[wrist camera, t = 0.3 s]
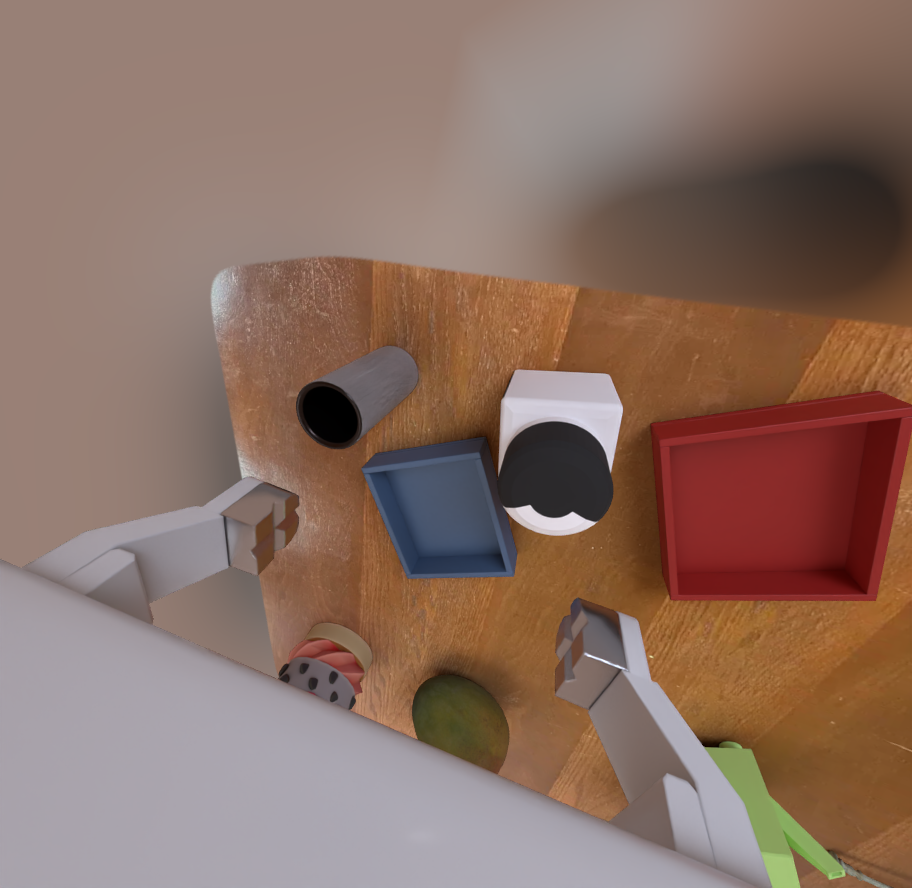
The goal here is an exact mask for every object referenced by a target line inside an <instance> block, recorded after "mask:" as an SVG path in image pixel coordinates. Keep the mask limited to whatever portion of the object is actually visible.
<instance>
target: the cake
mask: <svg viewBox="0 0 912 888" xmlns="http://www.w3.org/2000/svg"><path fill="white" fill-rule="evenodd" d="M372 658H373V656H372V652H371V649H370V648H369V646H368V645H367V643H366V642H365V641H364V640H363V639H362V638H361V637H360V636H359V635H358V634H356V633H355V632H353V631H351V630H350V629H348V628H346V627H343V626H341V625H338V624H333V623H319V624H317V625H315V626H313V628H312V629H311V630H310V632H309V633H308V635H307V636H306V638H305V639H304V641H302V642H301V643H299V644H298V645H296V647H295V648H294V649H293V650H292V651H291V652H290V655H289V658H288V662H287V664H285V665H284V666H283V667H282V669H281V670H280V672H279V678H278V679H279V680H281V681H283V682H286V683H288V684H290V685H292V686H295V687H297V688H299V689H302V690H304V691H306V692H309V693H311V694H313V695H316V696H318V697H320V698H323V699H325V700H327V701H329V702H332V703H334V704H336V705H339V706H341V707H343V708H346V709H348V710H350V709H352V707H353V706H354V704H355V702H356V700H355V695H357V694H359V693H362V689H361V685H360V682H361V681H362V680H363V679H364V678H365V676H366V674H367V671H368V669H369V667H370V665H371V663H372Z"/></svg>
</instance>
